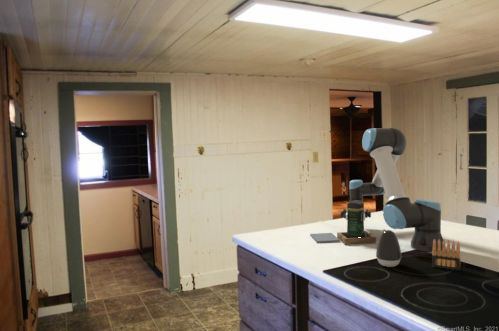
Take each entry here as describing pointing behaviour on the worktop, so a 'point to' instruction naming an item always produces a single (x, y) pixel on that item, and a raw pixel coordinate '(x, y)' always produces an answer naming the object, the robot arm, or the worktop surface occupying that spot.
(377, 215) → the worktop surface
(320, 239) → the slate mat
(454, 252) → the ammunition clip
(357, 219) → the coffee jar
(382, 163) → the robot arm
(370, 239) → the walnut collar
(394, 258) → the grey egg shaped container
